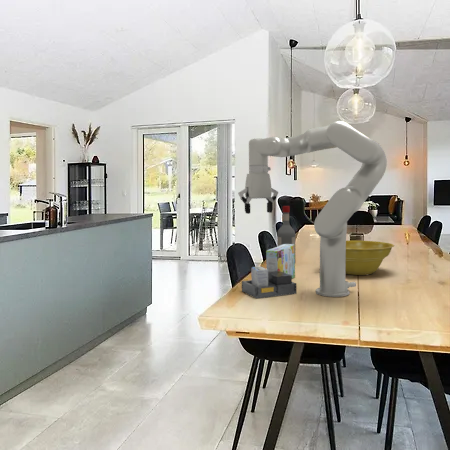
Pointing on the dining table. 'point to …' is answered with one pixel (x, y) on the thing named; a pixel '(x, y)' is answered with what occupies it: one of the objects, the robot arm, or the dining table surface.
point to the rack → (271, 286)
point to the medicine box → (259, 276)
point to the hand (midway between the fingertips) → (258, 212)
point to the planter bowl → (365, 256)
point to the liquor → (286, 230)
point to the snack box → (281, 259)
